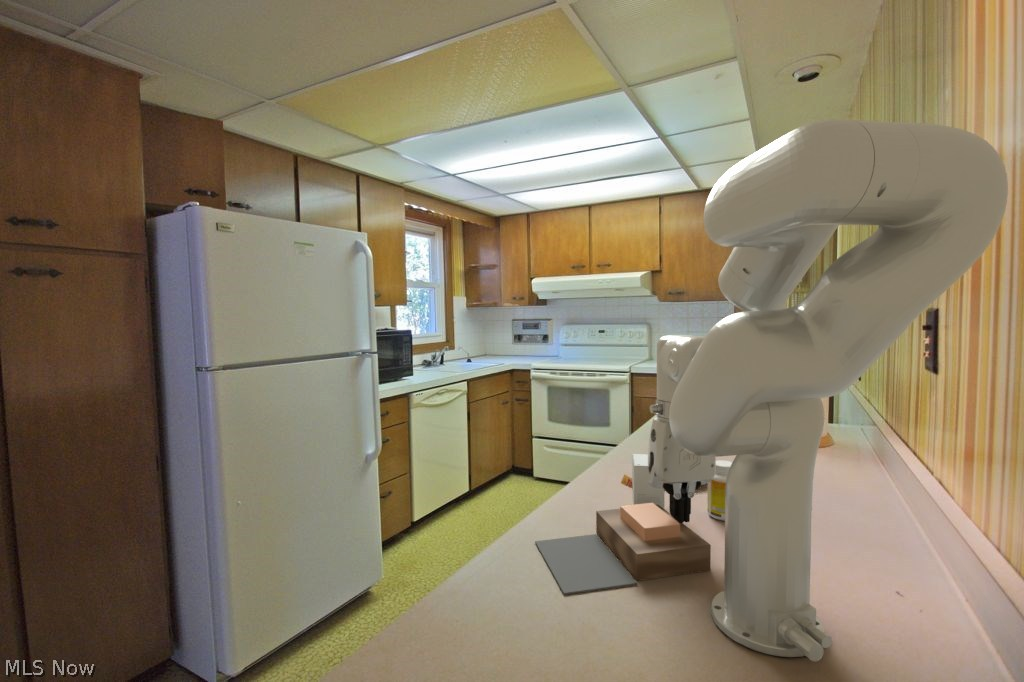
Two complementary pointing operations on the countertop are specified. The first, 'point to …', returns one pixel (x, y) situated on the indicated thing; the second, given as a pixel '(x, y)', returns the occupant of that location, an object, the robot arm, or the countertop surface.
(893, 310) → the robot arm
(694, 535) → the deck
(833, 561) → the countertop surface
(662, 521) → the peach rectangular slab
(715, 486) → the supplement bottle
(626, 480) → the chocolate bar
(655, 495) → the small box
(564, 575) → the mat
